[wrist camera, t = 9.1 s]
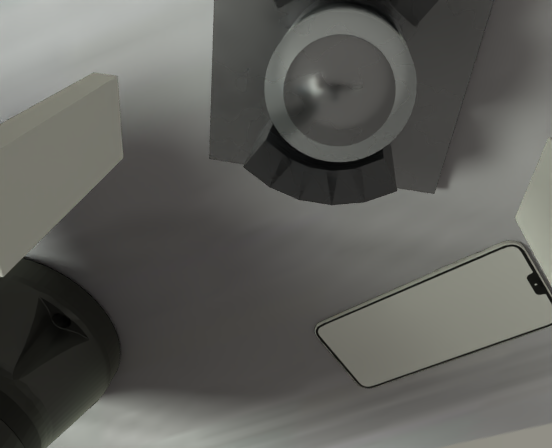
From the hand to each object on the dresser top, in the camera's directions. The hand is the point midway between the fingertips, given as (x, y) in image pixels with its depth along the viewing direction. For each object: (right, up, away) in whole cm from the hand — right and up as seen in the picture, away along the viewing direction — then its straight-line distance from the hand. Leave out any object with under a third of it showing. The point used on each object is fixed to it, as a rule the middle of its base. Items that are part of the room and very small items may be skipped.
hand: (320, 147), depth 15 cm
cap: (+2, +6, +10) cm, 11 cm away
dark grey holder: (+2, +6, +10) cm, 12 cm away
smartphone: (+9, -9, +19) cm, 23 cm away
